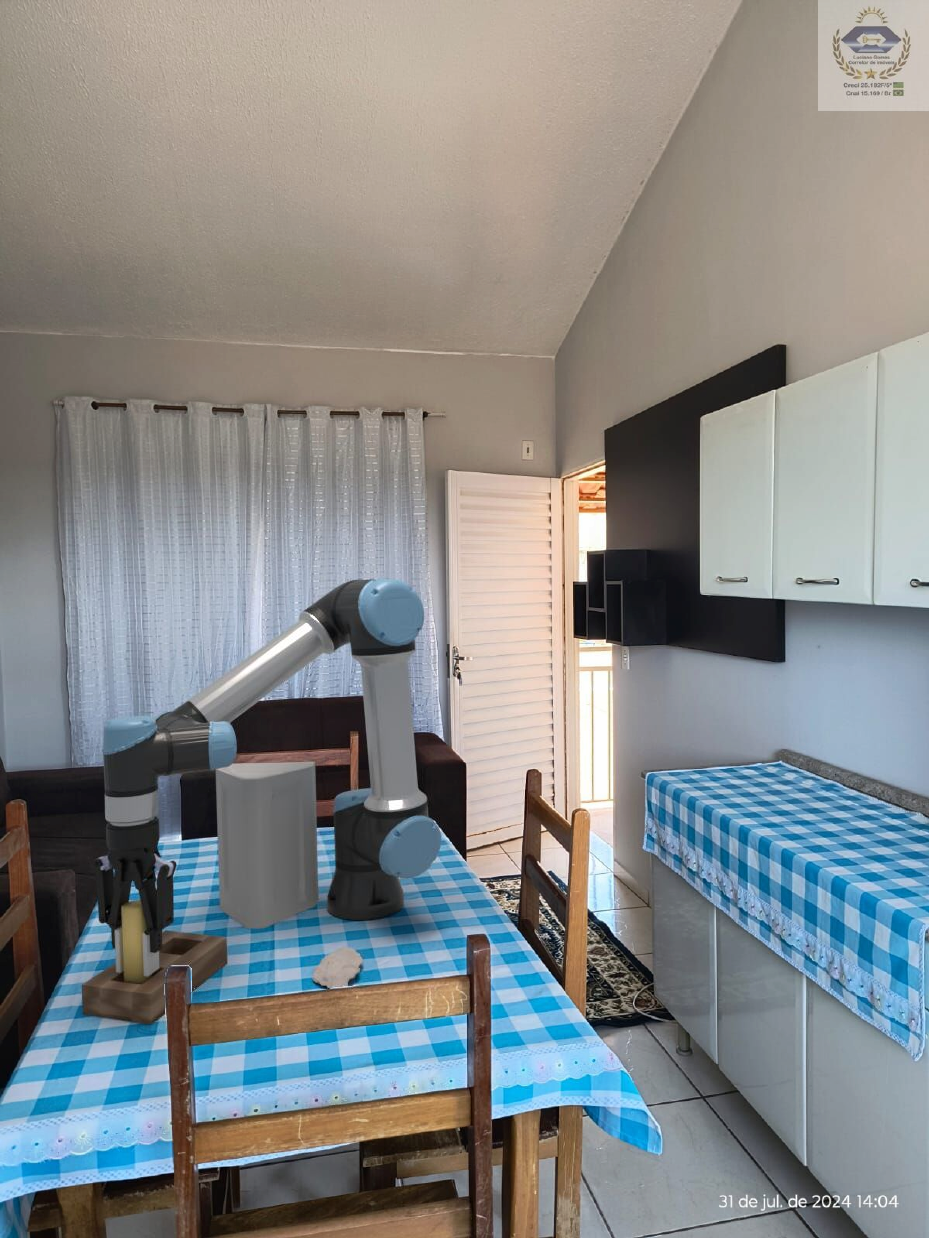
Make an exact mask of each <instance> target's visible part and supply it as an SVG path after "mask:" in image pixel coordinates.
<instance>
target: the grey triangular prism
mask: <svg viewBox="0 0 929 1238" xmlns="http://www.w3.org/2000/svg"><path fill="white" fill-rule="evenodd" d="M316 779H317V778H316V762H315V761H301V762H300V761H297V762H296V761H295V762H294V761H291V762H284V761H283V762H249V763H246V762H245V763H243V762H242V763H232V765H230V766H228V767H224V768H219V769H215V787H216V788H215V791H216V795H215V796H216V821H217V822H216V823H217V854H218V855H217V856H218V884H219V885H218V886H219V887H218V889H219V895H218V896H219V910H220V911H222V912H223V913H225V914H226V915H228V916H229V917H230V918H232V919H233V920H235V921H236V922H237V923H239V924H240V925H242V926H243V927H244V928H246V929H249V930H254V929H255V930H261V929H265V928H268V927H270V926H273V925H275V924H277V923H279V922H282V921H284V920H286V919H289V918H291V917H294V916H296V915H298V914H301V913H303V912H305V911H307V910H310V909H312V908H314V907H316V906H317V904H318V902H319V870H318V869H319V867H318V866H319V865H318V864H319V863H318V861H319V860H318V857H319V856H318V828H317V827H318V826H317V824H318V822H317V821H318V820H317V790H316V789H317V788H316V787H317V785H316V782H317V781H316Z"/></svg>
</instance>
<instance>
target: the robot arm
mask: <svg viewBox="0 0 929 1238" xmlns="http://www.w3.org/2000/svg"><path fill="white" fill-rule="evenodd" d="M424 621H425V610H424V605H423V602H422V599H421V598H420V596H419V595H418V593H417V591H416V590H415V589H414V588H413V587H412V586H410V585H409V584H408V583H406V582H404V581H402V580H399V579H392V578H388V577H387V578H386V577H379V578H371V579H370V578H369V579H352V580H349V581H346V582H343V583H342V584H339V585H338V586H336V587H334V588H333V589H332V590H330V591H329V592H328V593H326V594H325V595H323V596H321V598H319V599H318V600H316V601H315V602H314V603H312V604H311V605H310V606H309V607H307V608H306V609H303V611H301V612H300V613H299V616H298V621H297V622H294V624H292V625H291V626H290V627H289V628H287V629H286V630H284V631H282V633H280V634H279V635H277V636H276V637H275V638H273V639H272V640H269V642H268V643H266V644H265V645H263V646H262V647H260V648H259V649H258V650H256V651H255V652H253V653H252V654H250V656H248V657H247V658H245V659H244V660H242V661H241V662H239V664H237V665H236V666H234V667H233V668H232V669H230V670H229V671H227V672H226V673H225V674H223V675H222V676H220V677H219V678H217V679H216V680H215V681H213V682H212V683H211V684H209V685H208V686H206V687H205V688H204V689H202V690H201V691H199V692H198V693H197V694H195V695H194V696H192V697H191V698H189V699H188V700H187V701H185V702H184V703H182V704H180V705H179V706H178V707H176V708H175V709H174V710H173V711H172V710H170V711H166V712H161V713H160V714H158V715H155V717H152V716H149V715H137V716H136V715H135V716H133V715H131V716H121V717H115V718H112V719H110V720H108V721H107V722H106V723H105V724H104V726H103V739H102V740H103V743H102V750H101V751H102V755H103V756H102V757H103V758H102V759H103V776H104V777H103V778H104V779H103V780H104V815H105V820H106V821H107V824H106V825H105V837H106V839H105V840H106V847H107V848H108V849H109V850H108V853H107V855H106V854H104V855H103V856H100V857H98V858H96V859H93V860H92V863H91V864H92V867H93V871H94V873H95V876H96V877H95V879H96V893H97V894H96V896H97V911H98V915H97V916H98V922H99V923H100V924H102V925H103V924H106V925H108V927H109V928H110V931H111V932H110V933H111V947H112V948H113V949H115V963H116V972H119V973H121V972H122V971H124V964H123V937H122V911H121V906H122V905H123V904H124V903H126V902H129V901H130V898H131V897H130V895H131V889H132V885H133V883H134V888H135V890H137V891H138V896H139V900H141V905H142V909H143V914H144V918H145V923H146V928H147V930H146V931H144V933H142V938H143V967H144V976H149V975H151V974H152V973H153V972H155V971H156V970H158V969H159V950H161V949H162V932H163V930H164V929H166V928H167V927H169V926H171V925H172V924H174V920H175V917H174V916H175V915H174V914H175V913H174V911H175V909H174V907H175V906H174V905H175V904H174V903H175V902H174V895H175V894H174V875H175V871H176V869H177V862H176V861H175V860H171V861H167V860H166V859H163V858H162V857H161V853H160V851H159V847H158V846H159V842H160V840H161V839H160V837H161V836H160V819H159V818H158V817H157V816H158V814H159V812H160V811H159V791H158V790H159V784H158V783H159V782H158V781H159V777H160V778H161V777H168V776H175V775H182V774H190V773H198V772H205V771H216V769H219V768H224V767H228V766H230V765H232V764H234V763H235V760H236V757H237V752H238V751H237V749H238V746H237V745H238V744H237V743H238V742H237V738H236V737H237V736H236V733H235V730H234V728H233V726H232V724H231V723H232V722H233V721H234V720H235V719H237V718H238V717H239V716H241V715H242V714H243V713H245V712H246V711H248V710H249V709H250V708H251V707H253V706H254V705H256V704H257V703H258V702H259V701H261V700H263V699H264V698H265V697H266V696H268V695H269V694H271V693H272V692H273V691H274V690H275V689H277V688H278V687H279V686H282V685H283V684H284V683H286V681H288V680H289V679H290V678H292V677H293V676H294V675H296V674H297V673H298V672H300V671H301V670H302V669H304V668H305V667H307V666H308V665H309V664H311V663H312V662H313V661H314V660H315V659H317V658H319V657H320V656H321V655H323V654H326V655H331V654H333V653H334V652H335V651H337V650H338V649H340V648H342V647H343V646H345V645H347V644H348V645H349V644H350V652H351V657H352V658H353V659H354V660H356V661H357V662H358V663H359V665H360V673H361V684H362V686H361V687H362V694H363V695H362V696H363V706H364V707H363V709H364V719H365V720H364V721H365V733H366V742H367V743H366V745H367V755H368V756H367V757H368V768H369V769H368V770H369V779H370V787H369V788H368V787H367V788H360V789H353V790H348V791H344V792H341V793H339V794H337V795H336V797H334V799H333V811H332V815H333V832H334V833H333V834H334V865H335V866H334V873H333V876H332V879H331V883H330V885H329V889H328V892H327V896H326V906H327V907H326V908H327V909H326V910H327V911H328V913H330V914H331V915H332V916H334V917H336V918H340V919H343V920H349V921H350V920H352V921H366V920H367V921H368V920H374V919H375V920H376V919H380V918H384V917H388V916H391V915H393V914H396V913H397V912H399V911H400V910H401V909H402V908H403V906H404V904H405V901H404V898H405V897H404V895H405V894H404V889H403V887H402V883H401V881H400V879H404V880H405V879H406V880H407V879H413V878H415V877H419V876H420V875H422V874H423V873H425V872H427V871H428V870H429V869H430V868H431V867H432V864H433V863H434V861H436V859H437V858H438V856H439V853H440V850H441V845H442V833H441V830H440V828H439V826H438V824H437V823H436V822H435V820H434V819H432V818H431V817H429V807H428V797H427V795H426V794H425V793H424V792H422V791H421V790H420V789H419V785H418V772H417V760H416V749H415V748H416V745H415V734H414V723H413V709H412V698H411V697H412V695H411V694H412V693H411V683H410V671H409V660H410V658H411V657H413V654H415V653H416V640H415V639H416V638H417V637H418V636H419V633H420V631H421V630H422V628H423V626H424ZM155 870H156V871H155Z"/></svg>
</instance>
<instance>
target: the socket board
mask: <svg viewBox="0 0 929 1238" xmlns="http://www.w3.org/2000/svg"><path fill="white" fill-rule="evenodd" d="M227 940H228V939H227V936H217V935H210V934H203V933H202V934H201V933H194V932H192V933H191V932H183V931H173V930H164V931H162V949H161V950H159V969H158V970H156V971H155V972H153V973H152V977H151V978H150V979H149V980H147V981H146V982H145V983H143V984H142V985H140V984H133V983H125V982H124V971H122V972H121V973H119V972H116V962H114V963H113V964H111V965H110V966H108V967H106V968H105V969H104V970H102V971H101V972H99V973H97V974H96V975H94V976H93V977H92V978H90V979H88V980H87V981H85V982H84V983H82V984H81V1003H82V1004H81V1005H82V1006H81V1007H82V1016H83V1015H85V1016H90V1017H97V1018H104V1019H111V1020H118V1021H123V1022H124V1021H125V1022H129V1023H130V1022H131V1023H138V1024H145V1025H150V1026H151V1025H153V1024H154V1023H155V1022H157V1021H158V1020H159V1019H160V1018H162V1017H163V1016H164V1015H166V1013H165V995H164V984H165V973H166V972H167V969H168V967H170V966H171V965H189V966H190V967H191V968H192V992H191V993H193V992H194V991H195V990H196V989H198V988H199V987H201V985H202V984H204V983H205V982H206V981H208V980H209V979H210V978H211V977H213V976H214V975H215V974H217V973H218V971H220V970H221V969H223V968H224V967H225V966H226V965H228V941H227ZM197 987H198V988H197ZM194 988H195V990H194Z"/></svg>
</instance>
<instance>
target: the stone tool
mask: <svg viewBox="0 0 929 1238" xmlns="http://www.w3.org/2000/svg"><path fill="white" fill-rule="evenodd" d="M363 963H364V959H363V957H362V956H361V954H360V953H359V952H357V950H356V949H355V948H353V947H349V946H348V947H343V948H338V949H337V950H336V951H333V952H331V953H328V954H327V955H326V956H325V957H322V959H321V960H320V963H319V964H318V965H317V966H315V967H313V968H312V969H313V970H314V971H313V975H312V981H313V982H315V983H316V984H320V985H321V986H323V987H324V986H325V987H327V989H328V988H333V987H343V986H348V985H349V984H348V983H349V981H350V980H351V979H355V977H356V975H358V974H359V973H360V971H361V968H360V966H362V964H363ZM348 987H349V986H348Z"/></svg>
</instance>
